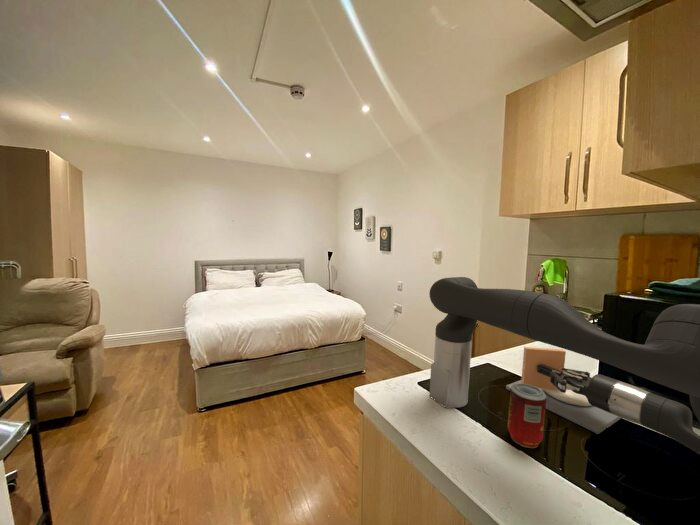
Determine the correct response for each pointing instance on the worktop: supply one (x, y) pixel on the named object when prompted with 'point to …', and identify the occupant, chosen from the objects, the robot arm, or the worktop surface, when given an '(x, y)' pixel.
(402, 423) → the worktop surface
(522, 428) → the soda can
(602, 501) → the worktop surface
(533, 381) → the dial lever
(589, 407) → the board
